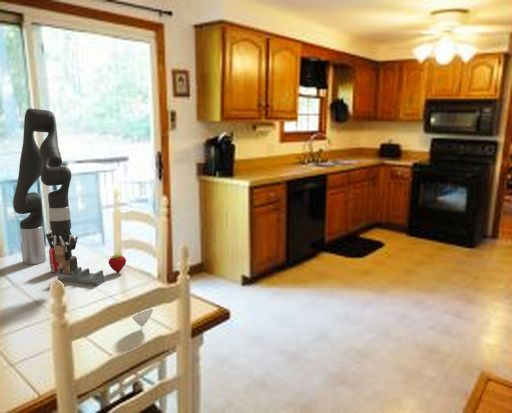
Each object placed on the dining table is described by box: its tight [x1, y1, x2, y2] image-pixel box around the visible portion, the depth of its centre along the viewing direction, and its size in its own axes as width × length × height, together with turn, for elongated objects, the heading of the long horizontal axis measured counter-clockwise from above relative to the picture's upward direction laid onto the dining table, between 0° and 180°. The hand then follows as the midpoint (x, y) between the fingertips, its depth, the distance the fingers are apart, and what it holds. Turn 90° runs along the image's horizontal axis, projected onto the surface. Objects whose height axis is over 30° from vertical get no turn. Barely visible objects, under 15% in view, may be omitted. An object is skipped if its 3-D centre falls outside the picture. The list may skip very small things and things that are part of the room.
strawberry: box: [108, 253, 127, 274], centre depth 183 cm, size 6×8×10 cm
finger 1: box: [62, 255, 79, 275], centre depth 175 cm, size 5×4×7 cm
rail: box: [56, 266, 106, 287], centre depth 174 cm, size 20×5×5 cm, turn 72°
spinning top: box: [131, 308, 154, 328], centre depth 135 cm, size 8×8×12 cm
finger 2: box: [54, 242, 73, 263], centre depth 164 cm, size 5×4×7 cm
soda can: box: [48, 247, 62, 274], centre depth 184 cm, size 7×7×12 cm
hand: (63, 258), depth 165 cm, fingers closed on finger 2, 4 cm apart
